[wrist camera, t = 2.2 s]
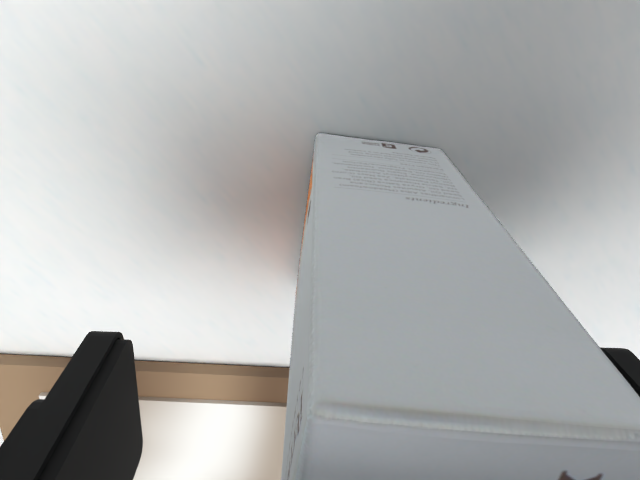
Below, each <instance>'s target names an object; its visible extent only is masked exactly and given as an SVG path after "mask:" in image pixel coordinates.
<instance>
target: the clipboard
mask: <svg viewBox="0 0 640 480" xmlns="http://www.w3.org/2000/svg"><path fill="white" fill-rule="evenodd" d="M71 358H72V357H52V356H31V355H10V354H0V428H1V432H2V435H3V439H4V441H5V439H6V438H7V436H8V435H9V434H10V432H11V431H12V429H13V428H14V426H15V425H16V423H17V422H18V420H19V419H20V418H21V416H22V415H23V413H24V412H25V410H26V409H27V408H28V406H29V405H30V404H31V403H32V402H33V401H35V400H37V399H45V398H46V396H47V395H48V393H49V392H50V390H51V389H52V387H53V386H54V384H55V383H56V381H57V379H58V378H59V376H60V375H61V373H62V372H63V370H64V369H65V367H66V366H67V364H68V363H69V361H70V360H71ZM134 361H135V360H134ZM289 370H290V368H282V367H261V366H240V365H219V364H198V363H177V362H156V361H135V371H136V380H137V389H138V399H139V408H140V417H141V427H142V436H143V448H142V454H141V458H140V462H139V464H138V467H137V470H136V473H135V476H134V478H133V480H281V473H282V460H283V447H284V434H285V421H286V407H287V395H288V383H289Z"/></svg>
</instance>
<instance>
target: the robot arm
mask: <svg viewBox="0 0 640 480" xmlns="http://www.w3.org/2000/svg"><path fill="white" fill-rule="evenodd" d="M600 349H601V350H602V351H603V353H604V354H605V355H606V356H607V357H608V359H609V360H610V361H611V362H612V363H613V365H614V366H615V367H616V368H617V370H618V371H619V372H620V373H621V374H622V376H623V377H624V378H625V379H626V381H627V382H628V383H629V384H630V386H631V387H632V388H633V389H634V391H635V392H636V393H637V394H638V396H639V397H640V360H639V359H638V358H637V357H636V356H635V355H634V354H633V353H632V352H631V351H629V350H628V349H624V348H600ZM142 448H143V436H142V427H141V417H140V408H139V399H138V389H137V380H136V371H135V361H134V352H133V344H132V341H131V340H124V338H123V335H122V333H120V332H100V331H91V332H89V333H88V334H87V335H86V337H85V338H84V340H83V342H82V343H81V345H80V346H79V348H78V349H77V351H76V352H75V354H74V355H73V357H72V358H71V360H70V361H69V363H68V364H67V366H66V367H65V369H64V370H63V372H62V373H61V375H60V376H59V378H58V379H57V381H56V383H55V384H54V386H53V387H52V389H51V390H50V392H49V393H48V395H47V396H46V398H45V399H37V400H35V401H33V402H32V403H31V404H30V405H29V406H28V408H27V409H26V410H25V412H24V413H23V415H22V416H21V418H20V419H19V420H18V422H17V423H16V425H15V426H14V428H13V429H12V431H11V432H10V434H9V435H8V436H7V438H6V439H5V441H4V442H3V444H2V445H1V447H0V480H133V478H134V476H135V473H136V470H137V467H138V464H139V462H140V458H141V454H142Z"/></svg>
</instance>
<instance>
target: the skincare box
mask: <svg viewBox="0 0 640 480" xmlns="http://www.w3.org/2000/svg"><path fill="white" fill-rule="evenodd" d="M281 480H640V397H639V396H638V394H637V393H636V392H635V391H634V389H633V388H632V387H631V386H630V384H629V383H628V382H627V381H626V379H625V378H624V377H623V376H622V374H621V373H620V372H619V371H618V370H617V368H616V367H615V366H614V365H613V363H612V362H611V361H610V360H609V359H608V357H607V356H606V355H605V354H604V353H603V351H602V350H601V349H600V348H599V346H598V345H597V344H596V342H595V341H594V340H593V339H592V337H591V336H590V335H589V334H588V332H587V331H586V330H585V329H584V328H583V326H582V325H581V324H580V322H579V321H578V320H577V319H576V317H575V316H574V315H573V314H572V313H571V311H570V310H569V309H568V308H567V306H566V305H565V304H564V303H563V301H562V300H561V299H560V297H559V296H558V295H557V293H556V292H555V291H554V290H553V288H552V287H551V286H550V285H549V283H548V282H547V281H546V280H545V279H544V277H543V276H542V275H541V273H540V272H539V271H538V270H537V269H536V268H535V266H534V265H533V264H532V262H531V261H530V260H529V258H528V257H527V256H526V255H525V253H524V252H523V251H522V250H521V248H520V247H519V246H518V245H517V244H516V242H515V241H514V240H513V238H512V237H511V236H510V234H509V233H508V232H507V231H506V230H505V228H504V227H503V226H502V224H501V223H500V222H499V221H498V219H497V218H496V217H495V216H494V215H493V213H492V212H491V211H490V209H489V208H488V207H487V206H486V205H485V203H484V202H483V201H482V200H481V198H480V197H479V196H478V195H477V193H476V192H475V191H474V190H473V189H472V187H471V186H470V185H469V183H468V182H467V181H466V179H465V178H464V177H463V175H462V174H461V173H460V172H459V171H458V169H457V168H456V167H455V166H454V164H453V163H452V162H451V161H450V159H449V158H448V157H447V156H446V155H445V153H444V152H443V151H442V150H441V149H439V148H431V147H423V146H415V145H408V144H401V143H393V142H385V141H376V140H367V139H360V138H352V137H344V136H337V135H330V134H324V133H319V134H317V135H316V137H315V143H314V152H313V161H312V169H311V176H310V183H309V191H308V199H307V206H306V214H305V222H304V230H303V238H302V247H301V255H300V263H299V271H298V280H297V288H296V298H295V309H294V321H293V333H292V345H291V358H290V370H289V383H288V395H287V407H286V421H285V434H284V447H283V460H282V473H281Z"/></svg>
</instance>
